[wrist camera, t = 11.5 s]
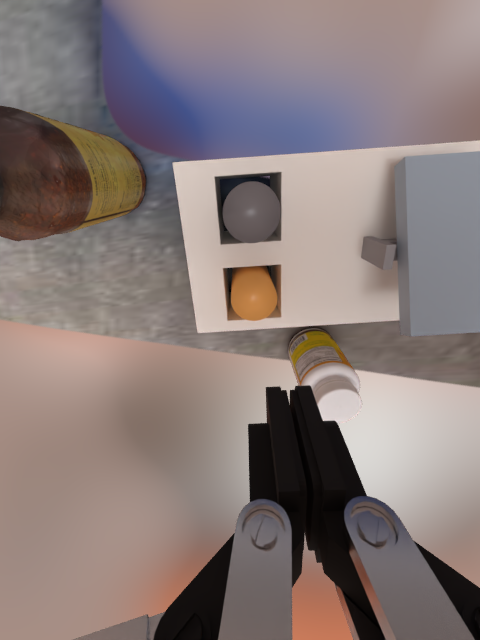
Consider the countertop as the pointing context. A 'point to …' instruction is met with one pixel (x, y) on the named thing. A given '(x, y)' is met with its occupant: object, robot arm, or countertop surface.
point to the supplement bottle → (326, 374)
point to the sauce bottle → (61, 177)
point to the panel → (302, 236)
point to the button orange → (252, 292)
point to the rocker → (438, 243)
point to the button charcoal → (251, 212)
